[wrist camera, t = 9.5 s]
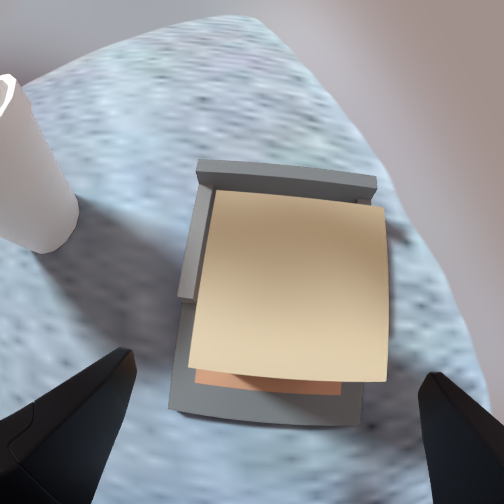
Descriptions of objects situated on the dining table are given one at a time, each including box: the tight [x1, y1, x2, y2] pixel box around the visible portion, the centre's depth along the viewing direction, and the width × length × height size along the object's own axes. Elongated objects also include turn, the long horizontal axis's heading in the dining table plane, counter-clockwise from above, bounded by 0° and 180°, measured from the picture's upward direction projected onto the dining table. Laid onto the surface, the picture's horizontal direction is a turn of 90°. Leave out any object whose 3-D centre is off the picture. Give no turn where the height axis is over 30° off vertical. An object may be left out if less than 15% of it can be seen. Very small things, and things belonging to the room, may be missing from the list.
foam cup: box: [0, 74, 79, 254], centre depth 18 cm, size 10×9×13 cm
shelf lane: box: [168, 159, 377, 426], centre depth 19 cm, size 16×12×4 cm
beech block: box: [188, 190, 389, 382], centre depth 14 cm, size 5×5×12 cm
